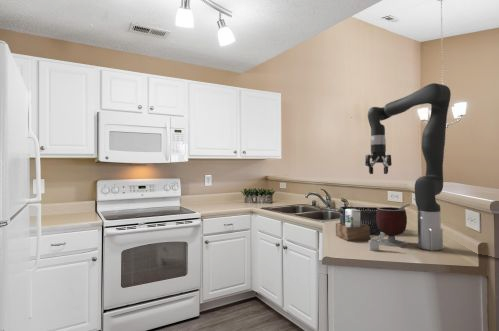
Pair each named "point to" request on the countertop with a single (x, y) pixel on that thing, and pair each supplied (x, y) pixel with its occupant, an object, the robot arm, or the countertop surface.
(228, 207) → the countertop surface
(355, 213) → the syrup box
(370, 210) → the storage bin
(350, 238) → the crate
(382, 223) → the mate gourd
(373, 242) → the lighter
